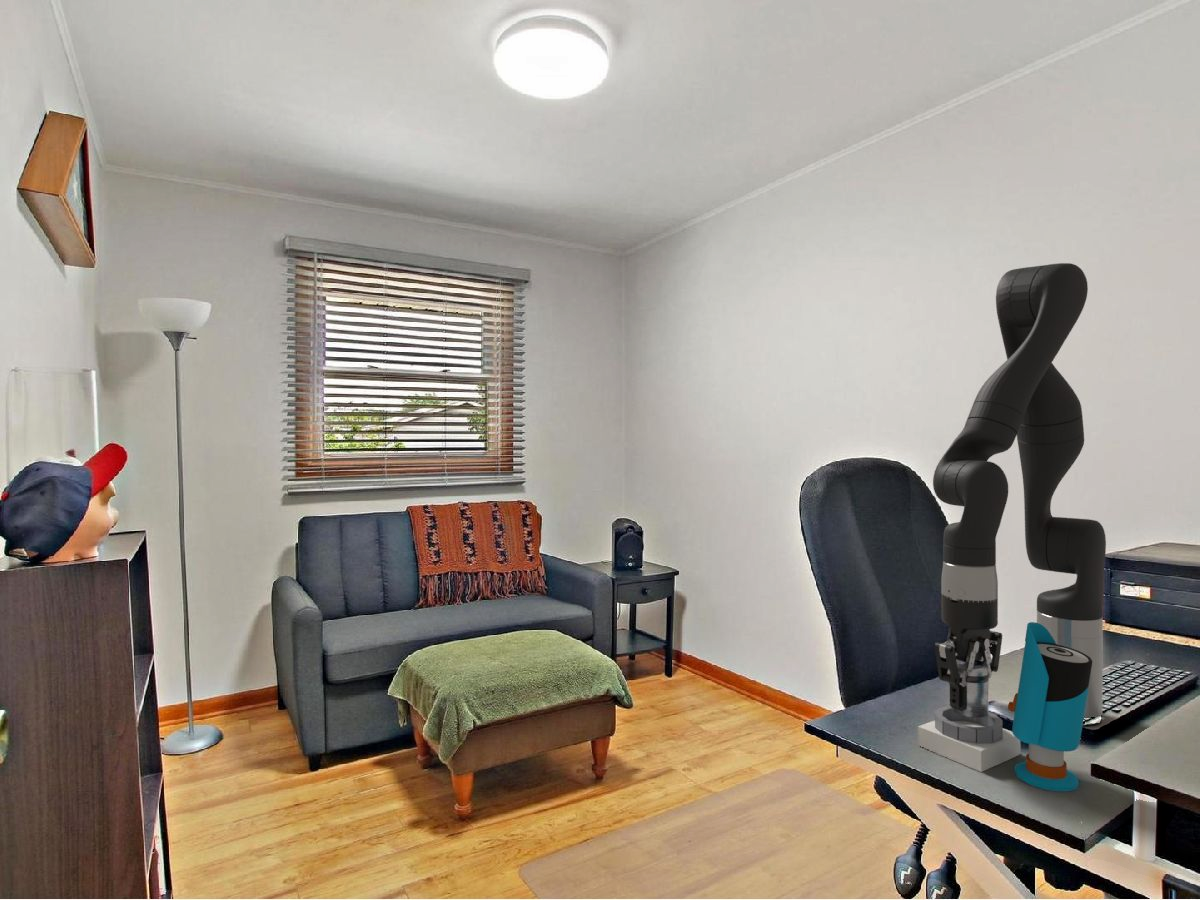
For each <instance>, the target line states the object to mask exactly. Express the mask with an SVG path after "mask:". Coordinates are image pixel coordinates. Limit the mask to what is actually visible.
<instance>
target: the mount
mask: <svg viewBox="0 0 1200 900" xmlns="http://www.w3.org/2000/svg"><path fill="white" fill-rule="evenodd" d="M1003 726H1004V725H1003V719H1002V718H1001V717H1000V716H998V715H997V714H995V713H993V712H991V711H988V715H987V716H985V717H968V716H963V715H960V714H957V713H955V712H954V711H952V710H951V706H950V705H945V706H942V707H939V708H936V710H935V711H934V720H932V721H929V722H927V723H924V724H921V725H918V726H917V746H918V745H919V746H918V747H920V746H921V747H920V748H922V747H924V748H923V749H925V748H926V749H925V750H927V749H929V750H928V751H929V752H932V751H933V753H934V752H935V753H934V754H936V755H939V756H942V757H945V758H946V757H947V759H949V760H951V761H954V762H956V763H958V764H961V765H963V766H966V767H969V768H971V769H973V770H976V771H978V772H980V773H982V772H985V771H986V770H989V769H991V768H994V767H996V766H997V765H1000V764H1002V763H1005V762H1007V761H1009V760H1011V759H1013V758H1015V757H1018V756H1020V755H1021V741H1020V740H1019V739H1018V738H1016V737H1015V736H1014V734H1013V733H1012V730H1008V729H1007V728H1003Z"/></svg>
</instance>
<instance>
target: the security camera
mask: <svg viewBox="0 0 1200 900" xmlns="http://www.w3.org/2000/svg"><path fill="white" fill-rule="evenodd" d="M1026 625H1027V626H1026V632H1025V637H1024V641H1025V643H1024V649H1023V655H1022V662H1021V669H1020V675H1019V683H1018V689H1017V693H1015V695H1014V697H1013V701H1009V702H1008V704H1007V710H1009V711H1011V712H1014V715H1013V722H1012V728H1011V731H1012V733H1013V734H1014V736H1015V737H1016V738H1018V739H1019V740H1020V742H1022V743H1024V744H1028V753H1027V754H1026V756H1025V761H1021V762H1018V763H1016V764H1015V766H1014V774H1015V775H1016V777H1017V778H1018V779H1020V780H1021V781H1022V782H1024V783H1026V784H1028V785H1031V786H1032V787H1036V788H1040V789H1043V790H1049V791H1053V792H1070V791H1074V790H1076V789H1078V787H1079V783H1080V782H1079V778H1078V776H1077V775H1076V774H1075V773H1074V772H1072V771H1071V770H1068V769H1067V765H1068V764H1067V762H1066V760H1065V758H1064V757H1065V753H1066V752H1072V751H1076V750H1077V749H1078V748H1079V745H1080V742H1081V737H1082V732H1083V726H1084V725H1083V720H1084V714H1085V708H1086V702H1087V696H1088V690H1089V681H1090V674H1091V668H1092V660H1091V658H1090V657H1089V656H1087V655H1086V654H1084V653H1082V652H1080V651H1077V650H1075V649H1072V648H1069V647H1066V646H1062V645H1057V644H1056V642H1055V640H1054V639H1053V637H1052V635H1051V634H1050V633H1049V631H1048V630H1047V629H1046V628H1045V627H1044V626H1043V625H1041V624H1039V623H1037V622H1036V621H1035V622H1032V621H1030V622H1027V624H1026Z"/></svg>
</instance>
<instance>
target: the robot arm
mask: <svg viewBox="0 0 1200 900" xmlns="http://www.w3.org/2000/svg"><path fill="white" fill-rule="evenodd" d="M1088 286H1089V285H1088V280H1087V277H1086V275H1085V272H1084V271H1083V270H1082V268H1080V267H1079V266H1078V265H1077V264H1074V263H1070V262H1069V263H1068V262H1062V263H1061V262H1060V263H1059V262H1058V263H1050V264H1043V265H1038V266H1037V265H1036V266H1026V267H1021V268H1020V267H1019V268H1015V269H1011V270H1009V271H1007V272H1005V273H1004V274H1003V275H1002V276H1001V278H1000V279H999V282H998V284H997V286H996V287H997V288H996V294H995V306H996V313H997V314H996V315H997V320H998V326H999V328H1000V329H999V330H1000V333H1001V334H1000V335H1001V338H1002V342H1003V346H1004V350H1005V355H1006V360H1005V361H1004V362H1003V363H1002V364H1001V365H1000V366H999V367H998V368H997V369H996V370H994V372H993V373H992V374H991V375H990V376H989V377H988V378H987V380H986V381H985V382H984V383H983V385H982V386H981V387H980V389H979V391H978V392H977V395H976V397H975V398H974V401H973V403H972V407H971V408H970V410H969V414H968V415H967V418H966V421H965V425H964V427H963V429H962V430H961V431H960V433H959V434H958V435H957V437H956V438H954V440H953V441H952V443H951V444H950V445H949V447H948V449H947V450H946V452H945V453H943V456H942V457H941V458H940V459H939V461H938V463H937V465H936V467H935V470H934V472H933V473H934V474H933V478H932V485H933V492H934V494H935V495H936V497H937V498H938V499H939V500H940V501H941V502H942V503H945V504H947V505H951V506H958V507H963V511H962V515H961V518H960V520H959V521H957V522H953V523H952V522H951V523H950V524H948V525H946V526H945V528H944V530H943V543H942V550H943V551H942V552H943V553H942V560H943V561H942V570H941V571H942V572H941V584H940V585H941V597H940V598H941V607H940V609H941V621H942V622H943V623H944V624H946V625H947V627H948V634H947V638H946V641H945V642H935V643H934V646H933V647H934V652H935V659H936V660H935V661H936V667H937V673H938V678H939V680H940V681H942V682H946V683H948V684H949V706H951V707H952V708H954V709H957V710H959V711H964V710H966V709H967V686H965V685H966V682H967V678H968V673H969V672H971V671H972V670H973V665H974V661H977V662H980V663H982V664H984V665H987V666H988V672H989V679H990V678H991V677H992V675H993V672H995V673H997V672H998V671H999V666H1000V657H1001V650H1002V642H1003V633H1002V632H1000V631H999V632H998V631H994V630H993V629H995V628H996V627H998V624H999V622H998V619H999V618H998V617H999V615H998V614H999V613H998V609H999V608H998V607H999V598H998V597H999V594H998V593H999V592H998V591H999V588H998V587H999V586H998V585H999V581H998V574H997V560H996V559H997V555H996V554H997V547H996V546H997V545H996V544H997V543H996V542H997V541H996V540H997V539H996V538H997V534H998V532H999V528H1000V526H1001V523H1002V519H1003V516H1004V512H1005V508H1006V507H1007V506H1006V505H1007V503H1008V498H1009V497H1008V496H1009V482H1008V479H1007V475H1006V473H1005V471H1004V470H1003V469H1002V468H1001V466H1000V465H999V464H997V463H995V462H992V461H989V459H990V458H991V457H993V456H995V455H998V454H1002V453H1004V452H1007V451H1009V449H1011V447H1012V446H1013V444H1014V443H1015V440H1017V447H1018V454H1019V461H1020V468H1021V475H1022V476H1021V477H1022V485H1023V486H1022V487H1023V501H1024V502H1023V503H1024V506H1023V507H1024V536H1025V537H1024V539H1025V540H1024V541H1025V549H1026V554H1027V558H1028V562H1029V563H1030V564H1031V566H1032V567H1033V568H1035V569H1036V570H1041V571H1049V572H1055V573H1063V574H1071V575H1072V574H1073V575H1076V580H1075V582H1074V583H1073V584H1071V585H1069V586H1066V587H1063V588H1058V589H1049V590H1046V591H1043V592H1040V593H1039V594H1038V595H1037V598H1036V623H1039V624H1041V625H1043V626H1044V627H1045V628H1046V629H1047V630H1048V631H1049V633H1050V634H1051V635H1052V637H1053V639H1054V640H1055V642H1056V644H1057V645H1062V646H1066V647H1069V648H1072V649H1075V650H1077V651H1080V652H1082V653H1084V654H1086V655H1087V656H1089V657H1090V658H1091V660H1092V668H1091V674H1090V681H1089V690H1088V696H1087V702H1086V708H1085V714H1084V718H1091V717H1098V716H1101V715H1102V716H1103V673H1104V671H1103V668H1104V667H1103V666H1104V665H1103V660H1104V659H1103V652H1104V651H1103V647H1104V646H1103V637H1104V635H1103V633H1104V632H1103V625H1104V624H1103V622H1104V621H1103V620H1104V619H1103V616H1104V615H1103V608H1104V607H1103V606H1104V605H1103V604H1104V582H1105V581H1104V580H1105V579H1104V577H1105V567H1106V566H1105V563H1106V549H1107V541H1106V533H1105V529H1104V527H1103V525H1102V524H1101V523H1100V522H1099V521H1097V520H1094V519H1089V518H1074V517H1062V516H1061V517H1059V516H1053V515H1052V512H1051V507H1052V504H1051V503H1052V499H1053V495H1054V494H1055V491H1056V490H1057V488H1058V487H1059V484H1060V483H1061V481H1062V480H1063V479H1064V477H1065V476H1066V474H1067V473H1068V472H1069V471H1070V469H1071V468H1072V466H1073V465H1074V464H1075V461H1076V460H1077V459H1078V458H1079V455H1080V454H1081V452H1082V450H1083V447H1084V444H1085V431H1084V430H1085V429H1084V419H1083V411H1082V409H1083V408H1082V405H1081V401H1080V399H1079V397H1078V395H1077V394H1076V392H1075V391H1074V389H1073V387H1072V386H1071V385H1070V383H1068V382H1069V381H1067V380H1066V379H1065V378H1064V376H1063V375H1062V374H1061V373H1060V371H1059V370H1058V369H1057V367H1056V366H1055V365H1054V363H1053V361H1054V359H1056V357H1057V355H1058V353H1059V352H1060V350H1061V348H1062V347H1063V345H1064V343H1065V342H1066V340H1067V338H1068V336H1069V335H1070V333H1071V332H1072V330H1073V328H1074V327H1075V325H1076V323H1077V322H1078V319H1079V318H1080V316H1081V314H1082V312H1083V310H1084V307H1085V304H1086V301H1087V297H1088V293H1089V292H1088V290H1089V289H1088V288H1089V287H1088ZM956 660H959V661H963V662H966V663H965V664H960V663H957V661H956ZM958 668H960V669H961V673H960V677H959V674H958Z"/></svg>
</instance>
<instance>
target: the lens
mask: <svg viewBox="0 0 1200 900" xmlns="http://www.w3.org/2000/svg"><path fill="white" fill-rule="evenodd" d="M956 661H957V663H960V664H965V663H966V662H963V661H959V660H957V659H956ZM960 673H961V669H960V668H958V674H959V677H960ZM989 681H990V678H989V672H988V666H987V665H984V664H982V663H980V662H977V661H974V665H973V670H972V671H971V672H969V673H968V678H967V682H966V685H965V686H967V709H966V710H964V711H959V710H957V709H954V708H952V707H951V710H952V711H954V712H955V713H957V714H960V715H963V716H968V717H985V716H987V715H988V712H989Z"/></svg>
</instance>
